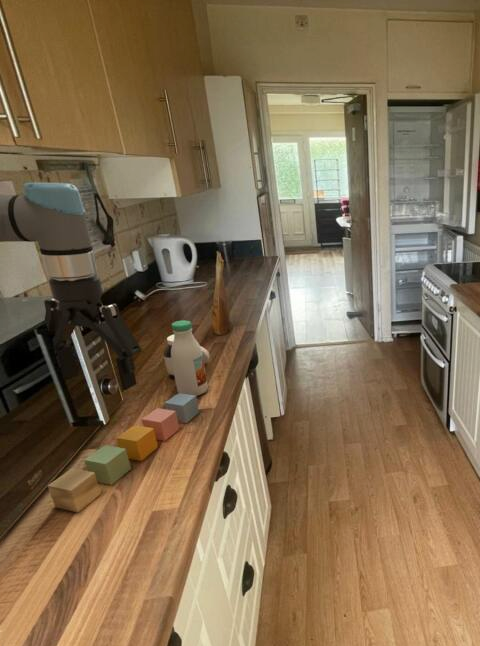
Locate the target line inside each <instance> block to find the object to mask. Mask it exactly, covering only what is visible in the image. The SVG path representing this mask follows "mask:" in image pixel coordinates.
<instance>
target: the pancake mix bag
mask: <svg viewBox="0 0 480 646" xmlns="http://www.w3.org/2000/svg"><path fill="white" fill-rule="evenodd" d="M215 253H216V262H215V283H214V293H213V302H212V326H213V331H214V334H215V335H219V336H223V335H225V334H227V333H228V332H229V328H230V308H229V307H230V306H229V300H228V293H227V289H226V287H225V281H224V277H223V271H224V268H225V262H224V259H223V258H222V253H221V252H220V251H218V250H216V252H215Z"/></svg>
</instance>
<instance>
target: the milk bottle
mask: <svg viewBox="0 0 480 646" xmlns="http://www.w3.org/2000/svg"><path fill="white" fill-rule="evenodd" d="M192 325H193V324H192V322H191V321H190V320H183V319H182V320H177V321H174V322H172V323H171V329H172V333H173V335H174V341H173V345H172V348H171V359H172V365H173V370H174V376H175V377H174V380H175V385H176V391H177V394H178V393H182V394H188V395H195V396H196V397H198V396H200V395H201V396H202V395H203V394H205V393H206V392H207V390H208V388H209V386H208V379H207V372H206V366H205V363H204V360H203V355H202V350H201V347H202V346H201V345H200V344H199V342H198V341H197V339H196V338H195V336H194V334H193V332H192V331H193V327H192ZM200 346H201V347H200Z"/></svg>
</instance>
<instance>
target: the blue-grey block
mask: <svg viewBox="0 0 480 646" xmlns="http://www.w3.org/2000/svg"><path fill="white" fill-rule="evenodd" d="M164 406H165V409H166V410H173V411H176V415H177V420H178V423H181V424H188V423H189V422H190V421H192V419H193V418H195V417H196V416H197V415H198V414H200V411H199V405H198V399H197V396H195V395H188V394H182V393H178V392H177V394H175V395H174V396H172V397H170V398H169V399H168V400H166V401H165V402H164Z"/></svg>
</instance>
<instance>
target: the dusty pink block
mask: <svg viewBox="0 0 480 646" xmlns="http://www.w3.org/2000/svg"><path fill="white" fill-rule="evenodd" d="M141 423H142V426H143V427H148V428H154V432H155V436H156V441H157V440H158V441H162V442H166V441H167V440H168V439H169V438H170V437H172V436H173V435H174V434H175V433H177V432H178V431H179V430H180V425H179V422H178V420H177V415H176V411H173V410H166V408H160V407H157V408H155V409H154V410H152V411H151V412H150V413H148V414H147V415H145V416H144V417H142V418H141Z"/></svg>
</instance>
